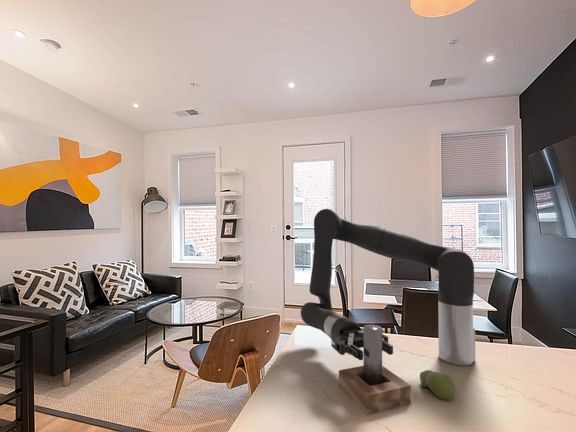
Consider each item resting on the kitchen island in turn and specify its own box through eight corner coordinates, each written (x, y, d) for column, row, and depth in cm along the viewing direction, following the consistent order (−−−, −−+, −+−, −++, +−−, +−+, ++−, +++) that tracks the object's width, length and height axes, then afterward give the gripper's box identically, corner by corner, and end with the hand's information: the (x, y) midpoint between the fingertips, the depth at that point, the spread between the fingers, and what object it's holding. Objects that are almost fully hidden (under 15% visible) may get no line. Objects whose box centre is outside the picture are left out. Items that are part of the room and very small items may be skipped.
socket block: (378, 377, 82) (378, 362, 82) (410, 402, 71) (410, 385, 71) (338, 386, 78) (338, 370, 78) (366, 414, 67) (366, 395, 67)
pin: (374, 387, 77) (374, 323, 77) (386, 397, 73) (386, 329, 73) (359, 391, 76) (359, 325, 76) (370, 400, 72) (370, 331, 72)
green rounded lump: (440, 379, 71) (412, 366, 80) (443, 404, 70) (415, 388, 79) (460, 376, 72) (431, 364, 81) (463, 401, 71) (433, 386, 81)
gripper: (319, 320, 86) (351, 341, 70) (362, 314, 91) (401, 333, 75) (319, 347, 85) (351, 374, 70) (362, 340, 91) (401, 364, 75)
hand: (377, 353), depth 73 cm, fingers open, 8 cm apart
